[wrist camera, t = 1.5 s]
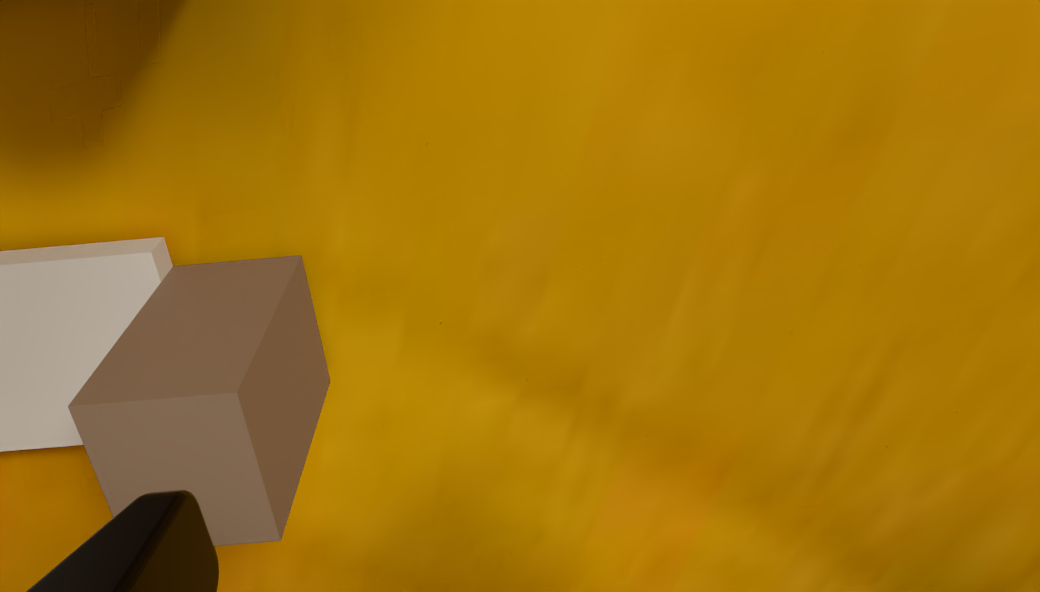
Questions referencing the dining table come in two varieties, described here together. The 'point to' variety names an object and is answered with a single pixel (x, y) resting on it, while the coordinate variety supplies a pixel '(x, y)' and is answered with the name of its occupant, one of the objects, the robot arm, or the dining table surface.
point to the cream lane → (166, 375)
